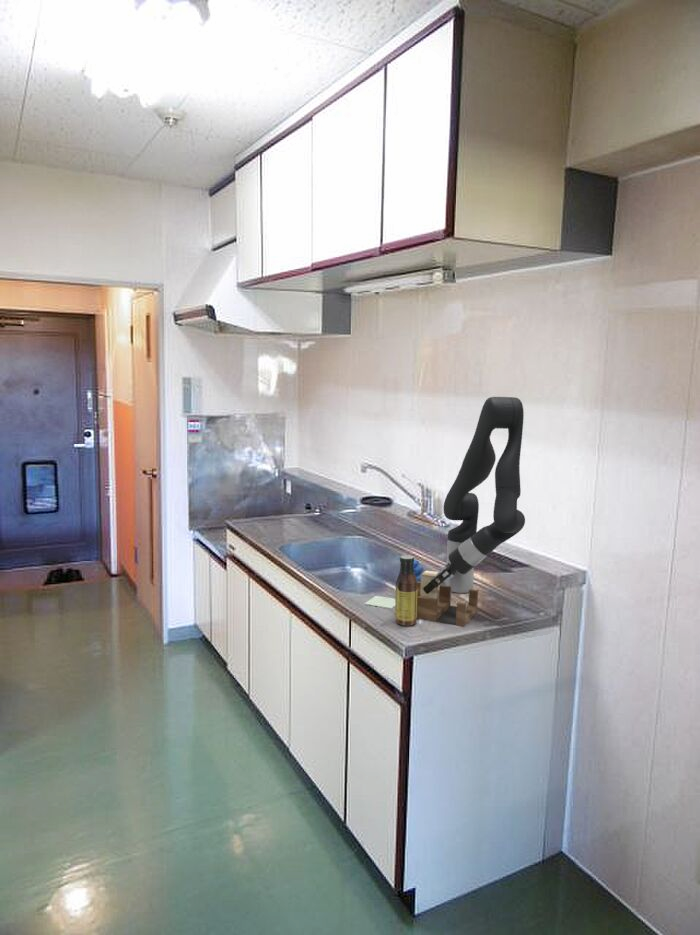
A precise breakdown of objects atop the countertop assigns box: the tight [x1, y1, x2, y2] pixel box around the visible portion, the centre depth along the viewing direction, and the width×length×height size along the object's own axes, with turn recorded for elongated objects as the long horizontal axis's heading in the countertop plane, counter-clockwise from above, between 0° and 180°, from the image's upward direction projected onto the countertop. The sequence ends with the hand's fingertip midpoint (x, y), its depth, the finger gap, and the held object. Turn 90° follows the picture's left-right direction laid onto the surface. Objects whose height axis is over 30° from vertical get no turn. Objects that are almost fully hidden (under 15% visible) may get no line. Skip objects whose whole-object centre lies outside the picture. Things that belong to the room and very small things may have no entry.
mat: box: [364, 595, 396, 610], centre depth 211 cm, size 9×9×1 cm
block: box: [420, 570, 441, 605], centre depth 203 cm, size 5×4×10 cm
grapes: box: [413, 559, 424, 582], centre depth 221 cm, size 12×7×12 cm, turn 30°
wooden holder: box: [416, 582, 479, 627], centre depth 202 cm, size 15×21×6 cm
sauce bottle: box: [394, 554, 417, 627], centre depth 192 cm, size 7×6×20 cm
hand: (429, 587), depth 203 cm, fingers open, 8 cm apart
